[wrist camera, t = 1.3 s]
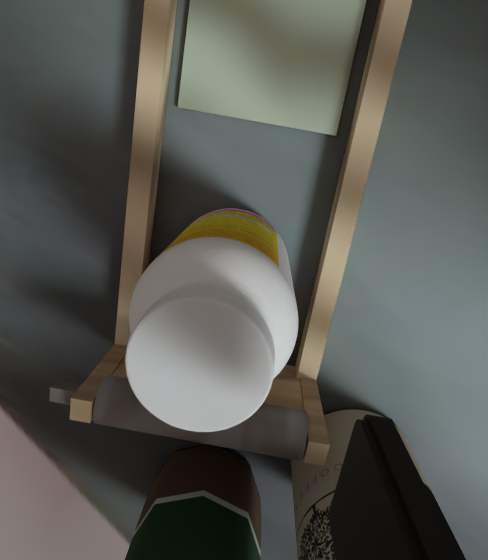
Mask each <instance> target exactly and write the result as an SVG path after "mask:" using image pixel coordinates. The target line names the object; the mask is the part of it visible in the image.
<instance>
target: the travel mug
mask: <svg viewBox="0 0 488 560" xmlns="http://www.w3.org/2000/svg"><path fill="white" fill-rule="evenodd" d="M367 414H368V415H374V416H380V417H383V416H381V415H379V414H376V413H373V412H369V411H364V410H341V411H336V412H332V413H329V414H326V415H324V419H325V424H326V429H327V433H328V438H329V443H330V447H329V451H328V454H327V458H326V461H325V465H324V466H322V465H316V464H311V463H305V462H304V461H303V457H302V459H301V461H297V460H291V470H292V484H293V498H294V512H295V527H296V541H297V555H298V560H336V558H335V553H334V548H333V542H332V537H331V531H330V526H329V511H330V506H331V502H332V499H333V496H334V492H335V489H336V485H337V482H338V478H339V475H340V472H341V468H342V465H343V461H344V458H345V454H346V451H347V448H348V444H349V441H350V437H351V434H352V430H353V427H354V424H355V421H356V420H357V419H361V420H363V418H364V416H365V415H367ZM395 426H396V425H395ZM396 428H397V430H398V432H399V434H400V436H401V438H402V440H403V442H404V444H405V446H406V448H407V450H408V452H409V455H410V457H411V459H412V461H413V463H414V465H415V467H416V469H417V471H418V473H419V475H420V477H421V479H422V481H423V483H424V484H426V485H427V486H428V487H429V484H428V482H427V480H426V478H425V476H424V474H423V472H422V470H421V468H420V466H419V464H418V462H417V459H416V457H415V455H414V453H413V451H412V449H411V447H410V445H409V443H408V441H407V439H406V437H405V435H404V434H403V432H402V431H401V430H400V429H399V428H398V427H397V426H396ZM429 488H430V487H429ZM430 490H431V489H430Z"/></svg>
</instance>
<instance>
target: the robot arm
mask: <svg viewBox="0 0 488 560" xmlns="http://www.w3.org/2000/svg"><path fill="white" fill-rule="evenodd" d="M329 526H330V531H331V537H332V542H333V548H334V553H335V558H336V560H466V559H465V557H464V555H463V553H462V551H461V549H460V547H459V545H458V543H457V541H456V539H455V537H454V535H453V533H452V531H451V529H450V527H449V525H448V523H447V521H446V519H445V517H444V515H443V513H442V511H441V509H440V507H439V505H438V503H437V501H436V499H435V497H434V495H433V493H432V491H431V490H430V488H429V487H428V486H427V485H426V484H424V483H423V481H422V479H421V477H420V475H419V473H418V471H417V469H416V467H415V465H414V463H413V461H412V459H411V457H410V455H409V452H408V450H407V448H406V446H405V444H404V442H403V440H402V438H401V436H400V434H399V432H398V430H397V428H396V426H395V424H394V422H393V421H392V419H390V418H386V417H380V416H374V415H368V414H367V415H365V416H364V418H363V420H361V419H357V420H356V421H355V424H354V427H353V430H352V434H351V437H350V441H349V444H348V448H347V451H346V454H345V458H344V461H343V465H342V468H341V472H340V475H339V478H338V482H337V485H336V489H335V492H334V496H333V499H332V502H331V506H330V511H329Z"/></svg>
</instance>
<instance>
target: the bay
mask: <svg viewBox="0 0 488 560" xmlns="http://www.w3.org/2000/svg"><path fill="white" fill-rule="evenodd" d="M411 4H412V0H380V3H379V7H378V12H377V16H376V20H375V25H374V29H373V33H372V37H371V42H370V46H369V50H368V55H367V59H366V63H365V68H364V72H363V76H362V80H361V85H360V89H359V93H358V98H357V102H356V106H355V111H354V115H353V119H352V124H351V128H350V132H349V136H348V141H347V145H346V149H345V154H344V158H343V162H342V167H341V171H340V175H339V179H338V184H337V188H336V192H335V197H334V201H333V205H332V210H331V214H330V218H329V222H328V227H327V231H326V235H325V240H324V244H323V248H322V253H321V257H320V261H319V265H318V270H317V274H316V278H315V283H314V287H313V291H312V296H311V300H310V304H309V309H308V313H307V317H306V321H305V326H304V330H303V334H302V339H301V343H300V347H299V352H298V356H297V360H296V364H295V366H291V365H285V366H284V368H283V369H282V370H281V372H280V373H279V374H278V375H277V376H276V377H275V378H274V379H273V382H272V385H271V388H270V391H269V394H268V395H267V397H266V399H265V401H264V402H263V404H262V405H261V406H260V407H259V409H258V410H257V411H256V412H255V413H254V414H253V415H252V416H250V417H249V418H248V419H246V420H245V421H243V422H241V423H240V424H238V425H235V426H233V427H231V428H228V429H224V430H220V431H213V432H196V431H188V430H184V429H180V428H177V427H174V426H171V425H169V424H167V423H165V422H164V421H162V420H160V419H159V418H157V417H156V416H154V415H153V414H152V413H150V412H149V411H148V410H147V409H146V408H145V407H144V406H143V405H142V404H141V402H140V401H139V400H138V398H137V397H136V396H135V394H134V392H133V390H132V388H131V386H130V383H129V381H128V377H127V374H126V367H125V354H126V348H127V344H128V341H129V338H130V335H131V333H130V326H129V309H130V302H131V299H132V295H133V292H134V289H135V287H136V284H137V282H138V281H139V279H140V277H141V276H142V274H143V273H144V271H145V270H146V269H147V268H148V266H149V260H150V251H151V241H152V232H153V223H154V213H155V204H156V195H157V186H158V176H159V167H160V158H161V148H162V139H163V130H164V120H165V111H166V102H167V92H168V83H169V74H170V64H171V55H172V46H173V37H174V27H175V18H176V9H177V0H144V12H143V23H142V35H141V46H140V58H139V69H138V81H137V92H136V103H135V115H134V126H133V138H132V149H131V161H130V172H129V184H128V195H127V207H126V218H125V230H124V241H123V253H122V264H121V276H120V287H119V299H118V310H117V322H116V333H115V344H114V345H113V346H112V348H111V349H110V350H109V351H108V352H107V354H106V355H105V356H104V357H103V359H102V360H101V361H100V362H99V364H98V365H97V366H96V367H95V369H94V370H93V371H92V372H91V374H90V375H89V376H88V377H87V379H86V380H85V381H84V382H83V384H82V383H77V382H72V381H66V380H61V379H57V380H56V381H55V382H54V384H53V385H52V386H51V387H50V399H49V401H50V402H56V403H61V404H67V405H70V420H75V421H80V422H86V423H91V421H92V420H93V422H94V423H95V424H100V425H105V426H111V427H116V428H121V429H127V430H132V431H138V432H143V433H149V434H154V435H160V436H165V437H171V438H176V439H182V440H187V441H193V442H198V443H204V444H209V445H215V446H220V447H226V448H231V449H237V450H242V451H248V452H253V453H259V454H264V455H269V456H275V457H280V458H286V459H291V460H297V461H301V459H302V457H303V461H304V462H305V463H311V464H316V465H322V466H324V465H325V461H326V458H327V454H328V451H329V447H330V443H329V438H328V433H327V429H326V424H325V419H324V414H323V409H322V404H321V400H320V395H319V390H318V385H317V376H318V372H319V368H320V364H321V360H322V356H323V353H324V349H325V345H326V341H327V337H328V333H329V329H330V325H331V321H332V317H333V313H334V309H335V305H336V301H337V297H338V293H339V289H340V285H341V281H342V277H343V273H344V269H345V265H346V261H347V257H348V253H349V249H350V245H351V242H352V238H353V234H354V230H355V226H356V222H357V218H358V214H359V210H360V206H361V202H362V198H363V194H364V190H365V186H366V182H367V178H368V174H369V170H370V166H371V162H372V158H373V154H374V150H375V146H376V142H377V138H378V135H379V131H380V127H381V123H382V119H383V115H384V111H385V107H386V103H387V99H388V95H389V91H390V87H391V83H392V79H393V75H394V71H395V67H396V63H397V59H398V55H399V51H400V47H401V43H402V39H403V35H404V31H405V28H406V24H407V20H408V16H409V12H410V8H411ZM365 5H366V0H190V4H189V13H188V22H187V31H186V39H185V48H184V57H183V65H182V74H181V83H180V91H179V100H178V108H182V109H188V110H194V111H199V112H205V113H210V114H216V115H221V116H227V117H233V118H238V119H244V120H249V121H255V122H261V123H266V124H272V125H277V126H283V127H288V128H294V129H300V130H305V131H311V132H316V133H322V134H328V135H333V136H336V134H337V130H338V125H339V121H340V116H341V112H342V107H343V103H344V99H345V94H346V90H347V85H348V81H349V76H350V72H351V67H352V63H353V58H354V54H355V49H356V45H357V40H358V36H359V32H360V27H361V23H362V18H363V14H364V9H365Z"/></svg>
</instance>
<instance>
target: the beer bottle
mask: <svg viewBox="0 0 488 560" xmlns="http://www.w3.org/2000/svg"><path fill="white" fill-rule="evenodd" d="M260 555H261V504H260V496H259V493H258V489H257V486H256V483H255V480H254V477H253V473H252V470H251V467H250V464H249V463H248V462H247V461H245V460H243V459H241V458H239V457H237V456H236V455H234V454H232V453H230V452H228V451H226V450H224V449H222V448H220V447H218V446H215V445H205V446H199V447H194V448H189V449H184V450H178V451H175V452H173V453H172V455H171V456H170V458H169V459H168V461H167V462H166V464H165V466H164V467H163V469H162V470H161V472H160V473H159V475H158V476H157V478H156V480H155V481H154V483H153V485H152V488H151V490H150V492H149V495H148V497H147V499H146V502H145V504H144V507H143V510H142V513H141V516H140V519H139V521H138V524H137V527H136V530H135V533H134V535H133V538H132V541H131V544H130V547H129V550H128V552H127V555H126V558H125V560H260Z"/></svg>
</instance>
